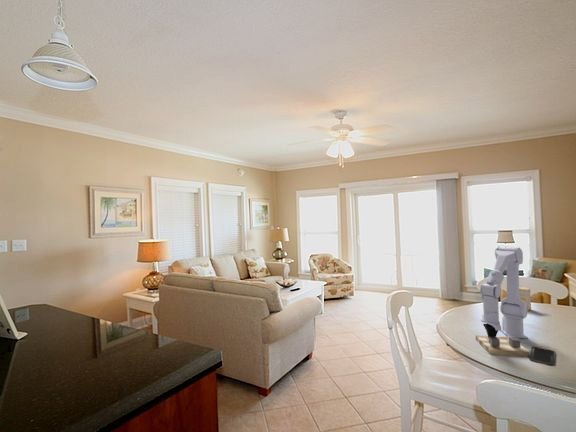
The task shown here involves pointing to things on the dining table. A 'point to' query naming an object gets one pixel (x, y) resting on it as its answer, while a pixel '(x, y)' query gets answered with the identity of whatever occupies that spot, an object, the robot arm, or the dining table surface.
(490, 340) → the switch tab
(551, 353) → the phone
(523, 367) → the dining table surface
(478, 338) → the switch board
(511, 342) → the switch tab
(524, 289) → the supplement box
